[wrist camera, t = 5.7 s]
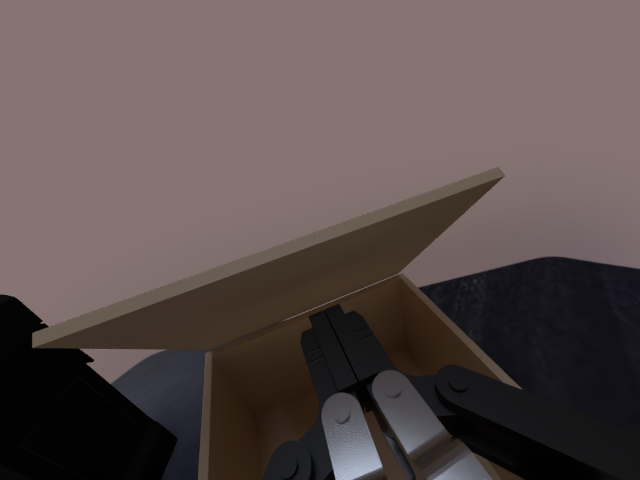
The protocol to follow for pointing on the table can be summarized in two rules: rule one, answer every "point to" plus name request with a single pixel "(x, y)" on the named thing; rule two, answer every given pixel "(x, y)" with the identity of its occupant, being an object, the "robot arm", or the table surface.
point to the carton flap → (273, 279)
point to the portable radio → (67, 413)
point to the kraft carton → (297, 387)
